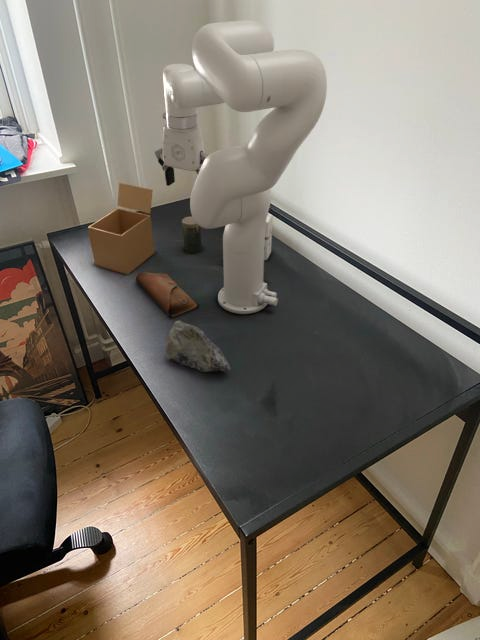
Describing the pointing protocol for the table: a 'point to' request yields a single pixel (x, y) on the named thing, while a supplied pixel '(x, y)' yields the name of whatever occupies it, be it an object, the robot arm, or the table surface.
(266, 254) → the ink box
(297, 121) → the robot arm
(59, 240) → the table surface
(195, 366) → the mineral rock
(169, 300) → the sunglasses case
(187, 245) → the tea tin
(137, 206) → the flap
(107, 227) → the carton
